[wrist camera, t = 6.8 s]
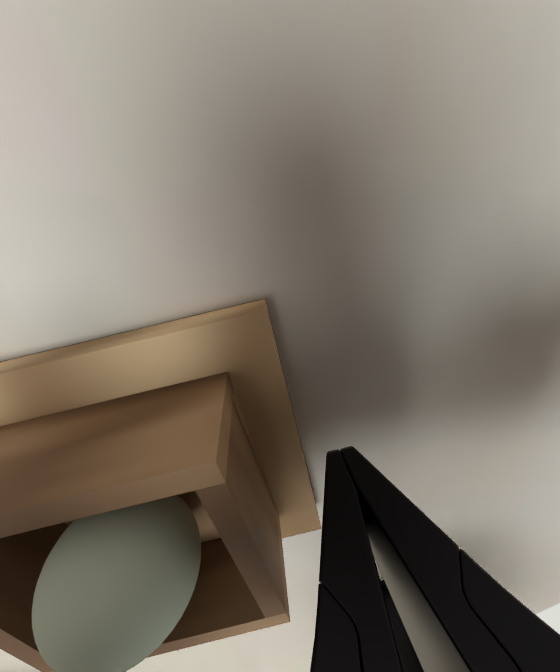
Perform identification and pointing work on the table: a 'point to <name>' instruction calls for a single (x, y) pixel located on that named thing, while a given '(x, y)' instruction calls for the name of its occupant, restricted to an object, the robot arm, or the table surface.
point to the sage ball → (116, 586)
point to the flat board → (172, 368)
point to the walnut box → (139, 487)
